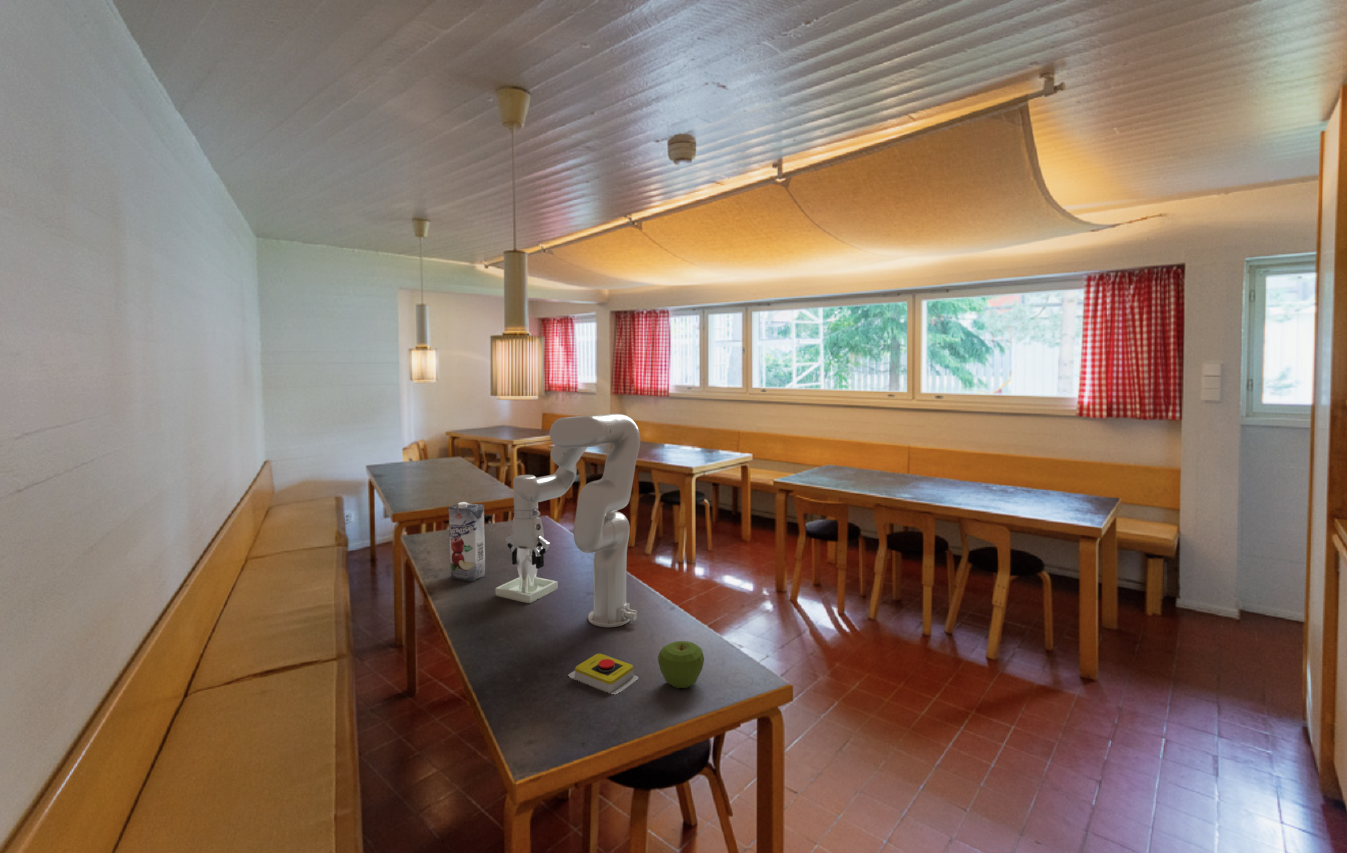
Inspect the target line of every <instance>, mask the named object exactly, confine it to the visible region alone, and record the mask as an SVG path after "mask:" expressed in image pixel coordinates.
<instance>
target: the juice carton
mask: <svg viewBox="0 0 1347 853" xmlns="http://www.w3.org/2000/svg"><path fill="white" fill-rule="evenodd" d="M448 525H449V528H448V529H449V530H448V531H449V559H450V560H449V561H450V562H449V563H450V564H449V565H450V578H451V579H452V580H455V581H461V582H462V581H463V582H468V583H472V582H473V583H474V582H475V581H476V579H477V580H479V579H480V578H482V577H484V576H485V575H486V574H485V573H486V572H485V571H486V548H485V547H486V546H485V545H486V544H485V542H486V541H485V540H486V539H485V504H483V503H482V504H481V503H479V504H477V503H475V504H474V503H468V502H466V501H462V502H458V503H457V504H453V505H451V506H449V507H448ZM478 578H479V579H478Z"/></svg>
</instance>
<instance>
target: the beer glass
mask: <svg viewBox="0 0 1347 853" xmlns="http://www.w3.org/2000/svg"><path fill="white" fill-rule="evenodd" d="M536 556H537V555H536V553H535V551H534V550H530V549H529V548H527V549H524V548H519V547H518V546H517V558H516V559H517V564H516V567H517V572H518V577H519V579H520V583H519V590H518V591H519V592H522V593H526V594H531V593H533V592H535V591H537V590H538V588H537V583H536V577H537V575H538V574H537V573H538V569H536Z"/></svg>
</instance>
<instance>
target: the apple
mask: <svg viewBox="0 0 1347 853" xmlns="http://www.w3.org/2000/svg"><path fill="white" fill-rule="evenodd" d="M657 662H658V665H659V670H660V672H661V674H662V676H663V679H664V681H666V683H668V684H669V685H670V686H672V687H673V688H675V687H676V688H675V689H679V688H684V689H687V688H689V687H690V686H692V685H695V683H697V680H698V678H699V676H700V675H701V672H702V670H703V666H704V663H705V657H704V653H703V649H702V647H700V646H699V645H697V644H696V643H694V642H691V641H686V640H678V641H673V642H669V643H668V644H666V645H664V646H662V648H661V650H660V651H659V653H658V656H657Z"/></svg>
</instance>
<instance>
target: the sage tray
mask: <svg viewBox="0 0 1347 853" xmlns="http://www.w3.org/2000/svg"><path fill="white" fill-rule="evenodd" d="M519 583H520V579H519V576H518V577H517V578H514V579H512V580H510V581H507V582H506V583H503V584H501V585H499V586H497V587H495V596H496V597H500V598H504V599H509V600H514V601H516V602H522V603H527V604H529V603H530V604H532V603H534V602H536V601H537V599H538V600H539V599H542V598H543V597H546V596H547V595H549V594H551V593H552V592H553V593H554V591H557V590H558V589H559V585H558V584H559V581H556V580H553V579H547V578H543V577H539V576H536V583H537V588H538V590H537V591H535V592H533V593H531V594H526V593H522V592H519V591H518V590H519Z"/></svg>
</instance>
